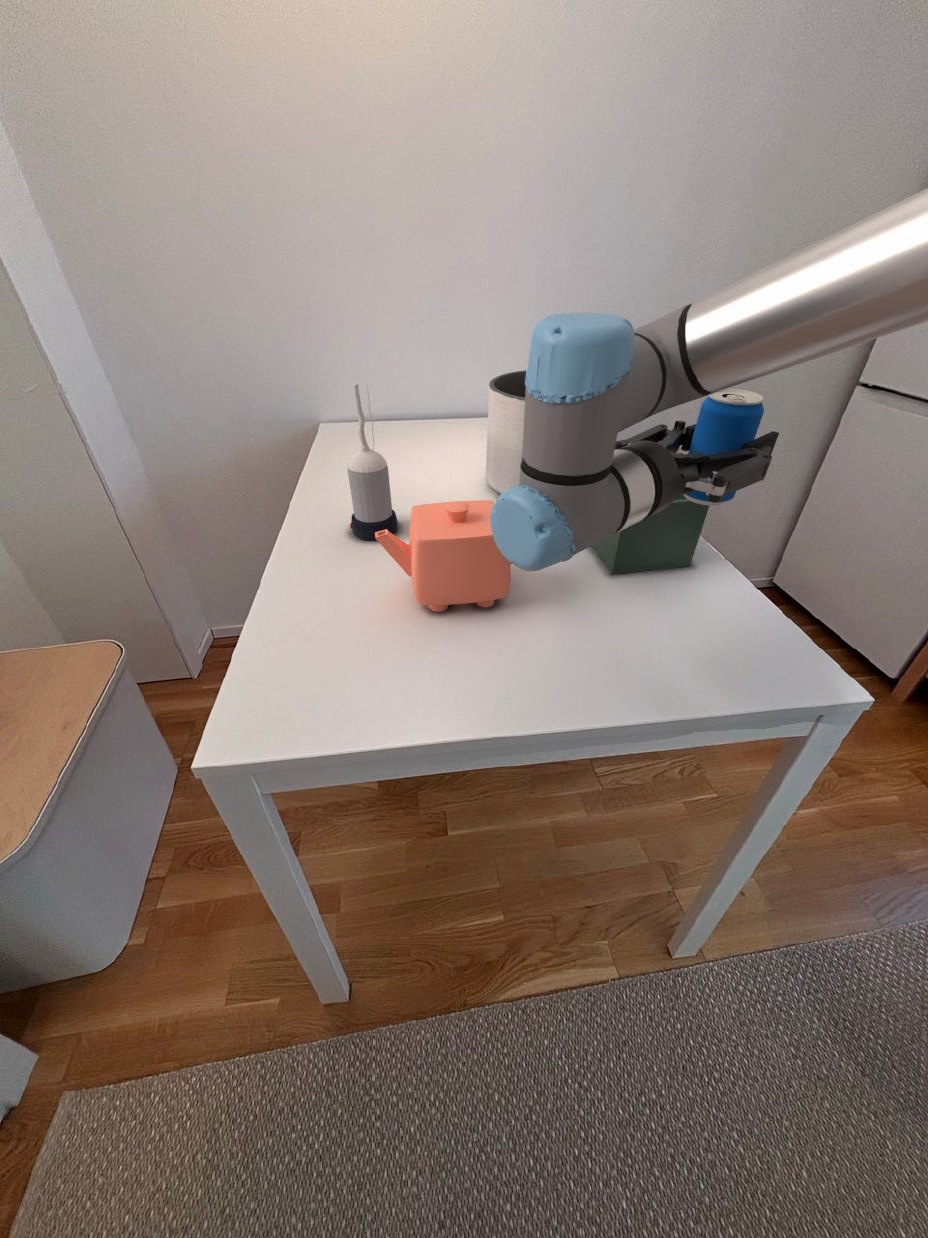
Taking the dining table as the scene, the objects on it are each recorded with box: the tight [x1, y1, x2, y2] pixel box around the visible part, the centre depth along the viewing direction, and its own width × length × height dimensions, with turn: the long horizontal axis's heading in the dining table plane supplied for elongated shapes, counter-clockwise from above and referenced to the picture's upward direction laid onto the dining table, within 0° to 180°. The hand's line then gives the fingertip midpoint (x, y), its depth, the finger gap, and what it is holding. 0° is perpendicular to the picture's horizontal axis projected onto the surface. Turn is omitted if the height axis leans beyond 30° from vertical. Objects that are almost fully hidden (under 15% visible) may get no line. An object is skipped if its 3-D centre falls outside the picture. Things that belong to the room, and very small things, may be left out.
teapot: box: [375, 499, 513, 612], centre depth 75 cm, size 22×13×14 cm, turn 98°
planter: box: [485, 369, 527, 496], centre depth 103 cm, size 22×22×20 cm
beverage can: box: [684, 388, 765, 507], centre depth 61 cm, size 6×6×12 cm
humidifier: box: [347, 383, 399, 542], centre depth 86 cm, size 8×8×25 cm
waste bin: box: [590, 495, 710, 575], centre depth 85 cm, size 14×14×12 cm
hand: (742, 435), depth 63 cm, fingers closed on beverage can, 6 cm apart
